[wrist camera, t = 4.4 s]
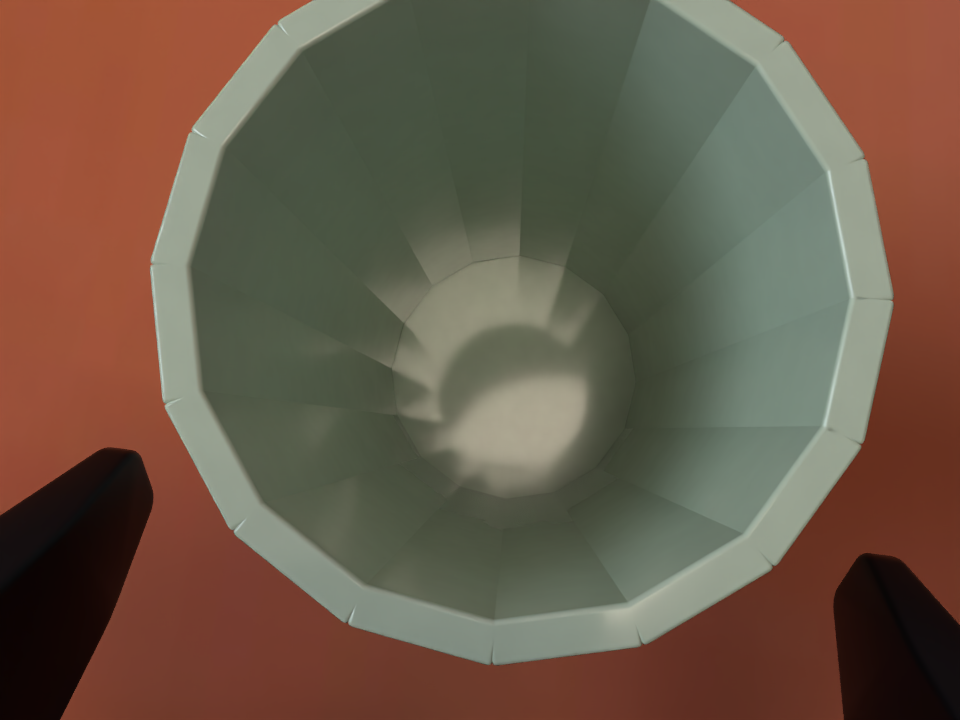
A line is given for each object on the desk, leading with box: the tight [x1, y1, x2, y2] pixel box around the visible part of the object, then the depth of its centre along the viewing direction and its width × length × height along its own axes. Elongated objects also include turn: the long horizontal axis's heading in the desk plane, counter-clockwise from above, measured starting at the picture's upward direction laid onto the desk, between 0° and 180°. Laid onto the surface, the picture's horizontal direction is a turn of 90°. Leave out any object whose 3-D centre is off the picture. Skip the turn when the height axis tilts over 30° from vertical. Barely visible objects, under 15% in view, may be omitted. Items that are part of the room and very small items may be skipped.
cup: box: [150, 0, 894, 666], centre depth 13 cm, size 7×7×12 cm
